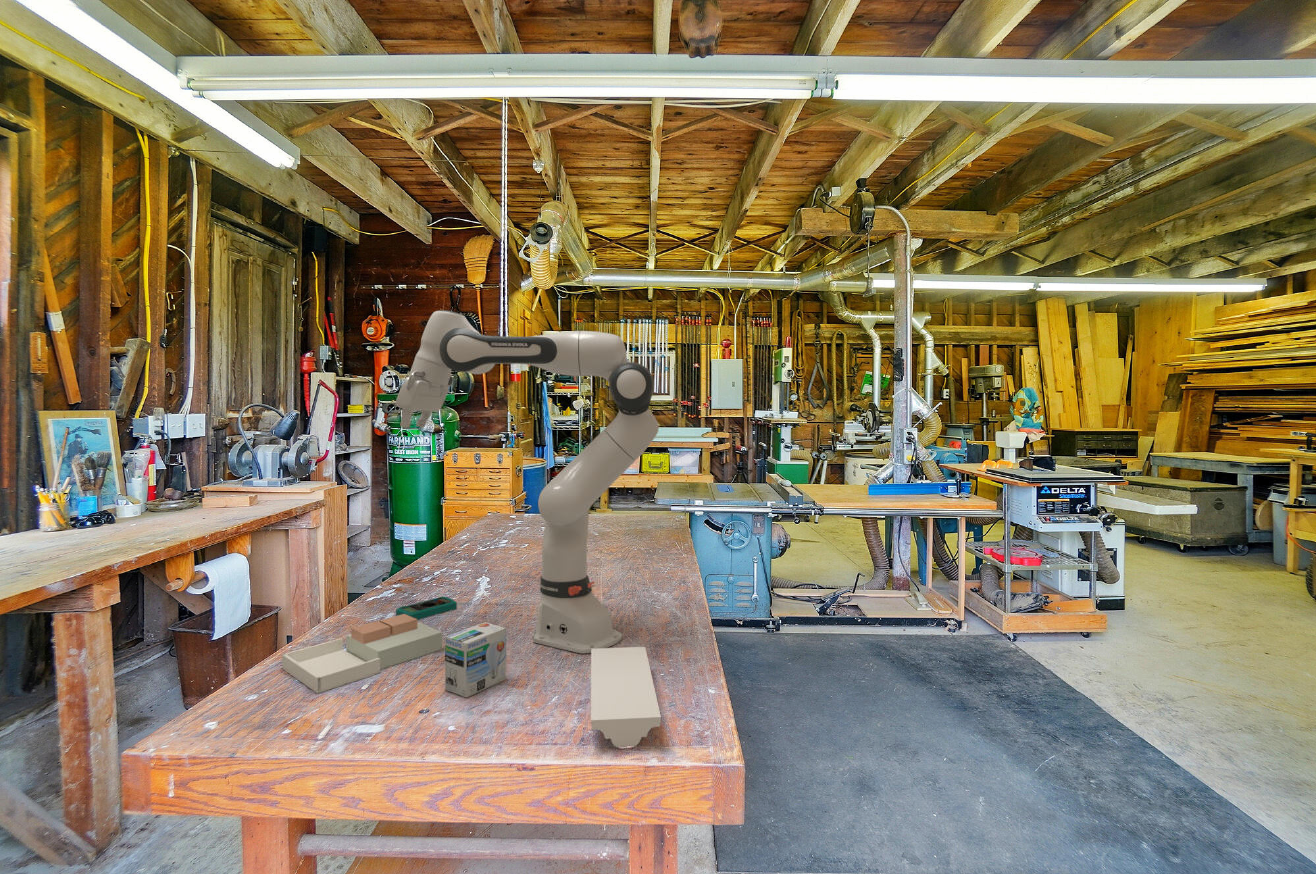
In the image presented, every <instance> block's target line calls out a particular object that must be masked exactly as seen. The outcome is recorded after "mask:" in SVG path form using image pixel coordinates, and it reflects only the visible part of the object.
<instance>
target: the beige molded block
mask: <svg viewBox="0 0 1316 874" xmlns="http://www.w3.org/2000/svg"><path fill="white" fill-rule="evenodd" d="M590 654H591V656H590V657H591V659H590V664H591V665H590V669H591V670H590V671H591V672H590V676H591V677H590V723H591V725H590V727H591V730H592V731H594V730H595V731H596V730H597V731H600V732H602V733H603V737H604V739H605V740H610V741H611V743H612V744H613V746H614V747H615V748H617V747H627V746H635V747H637V746H638V744H639V743H640V741H641V740H642V738H647V737H648V734H649V731H650V730H651V729H653V728H659V727H661V719H662V716H661V711H660V707H659V703H658V698H657V693H656V689H655V685H654V684H655V683H654V681H653V676H652V672H651V671H652V670H651V667H650V663H649V658H648V653H647V650H646V647H645V646H637V647H636V646H633V647H632V646H631V647H630V646H629V647H607V648H596V649H591V653H590Z"/></svg>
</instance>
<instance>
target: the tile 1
mask: <svg viewBox="0 0 1316 874" xmlns="http://www.w3.org/2000/svg"><path fill="white" fill-rule="evenodd" d="M350 634H351V638H353V639H355V640H357V641H359V642H361V643H363V644H366V643H369V642H373V641H376V640H380V639H383V638H387V637H390V626H388V625H385V624H383V623H381V622H380V620H379V621H378V620H375V621H373V622H372V621H371V622H368V623H363V624H361V625H358V626H353V627H350Z"/></svg>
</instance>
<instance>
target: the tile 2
mask: <svg viewBox="0 0 1316 874" xmlns="http://www.w3.org/2000/svg"><path fill="white" fill-rule="evenodd" d="M379 622H381V623H383V624H385V625H388V626H390V635H392V636H393V635H397V634H400V633H404V632H407V631H411V630H414V629H417V622H418V620H417V619H415V618H413V617H411V616H408V615H406V614H402V615H398V616H396V615H394V616H391V617H387V618H384V619H380V620H379Z"/></svg>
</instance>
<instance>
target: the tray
mask: <svg viewBox="0 0 1316 874" xmlns="http://www.w3.org/2000/svg"><path fill="white" fill-rule="evenodd" d="M281 668H282V670H284V671H285V672H287V673H288V674H289V675H291V676H292V677H293V678H295V679H296V680H298V681H299V682H301V683H302V684H303V685H305V686H306V687H308V688H309V689H311V690H312V691H314V692H315V693H316V694H320V693H324V692H326V691H329V690H333V689H335V688H338V687H341V686H344V685H348V684H350V683H353V682H357V681H360V680H362V679H365V678H369V677H371V676H374V675H376V674H378V675H379V674H380V673H381V669H380V658H377V659H373V660H370V661H367V662H365V661H363V660H361V659H359V658H357V657H356V656H354V655H352V654H350V653H349V652H347V651H346V649H344V638H343V637H341V638H336V639H333V640H330V641H326V642H323V643H319V644H315V645H312V646H311V645H310V646H307V647H304V648H301V649H297V650H293V651H290V652H286V653H283V654H281Z"/></svg>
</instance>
